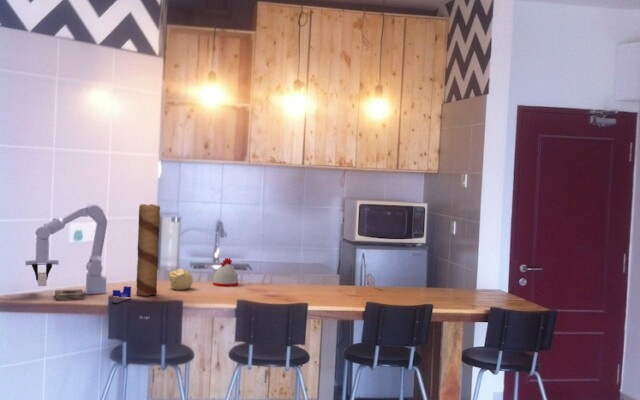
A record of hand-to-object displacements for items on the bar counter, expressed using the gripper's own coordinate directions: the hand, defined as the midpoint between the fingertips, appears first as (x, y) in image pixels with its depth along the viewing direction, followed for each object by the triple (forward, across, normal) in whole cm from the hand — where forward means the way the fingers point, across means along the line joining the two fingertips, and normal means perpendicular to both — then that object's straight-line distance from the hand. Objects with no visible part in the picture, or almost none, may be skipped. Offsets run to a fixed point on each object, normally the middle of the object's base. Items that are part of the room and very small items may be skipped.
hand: (41, 279), depth 309 cm
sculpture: (+8, -68, -2) cm, 68 cm away
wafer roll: (+8, -48, +10) cm, 49 cm away
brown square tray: (+7, -12, +9) cm, 17 cm away
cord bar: (+2, 0, 0) cm, 2 cm away
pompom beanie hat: (+8, -95, -10) cm, 96 cm away
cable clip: (+8, -33, +22) cm, 41 cm away
